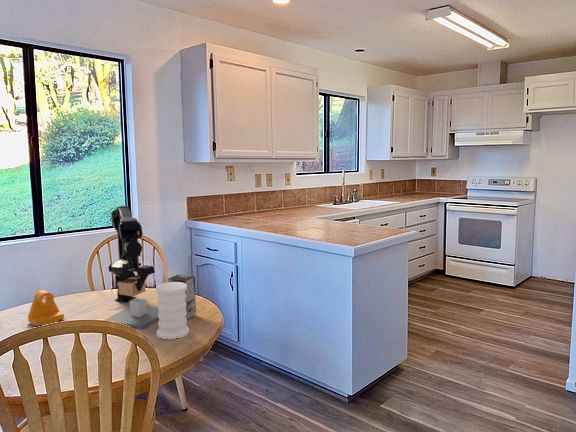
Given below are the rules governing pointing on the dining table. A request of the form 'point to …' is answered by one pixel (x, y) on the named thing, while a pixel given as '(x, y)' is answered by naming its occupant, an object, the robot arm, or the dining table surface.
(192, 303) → the coffee box
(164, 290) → the decorative container
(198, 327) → the dining table surface
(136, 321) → the duct base
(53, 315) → the bracket
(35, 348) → the dining table surface
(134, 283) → the collar
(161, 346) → the dining table surface
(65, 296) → the dining table surface
